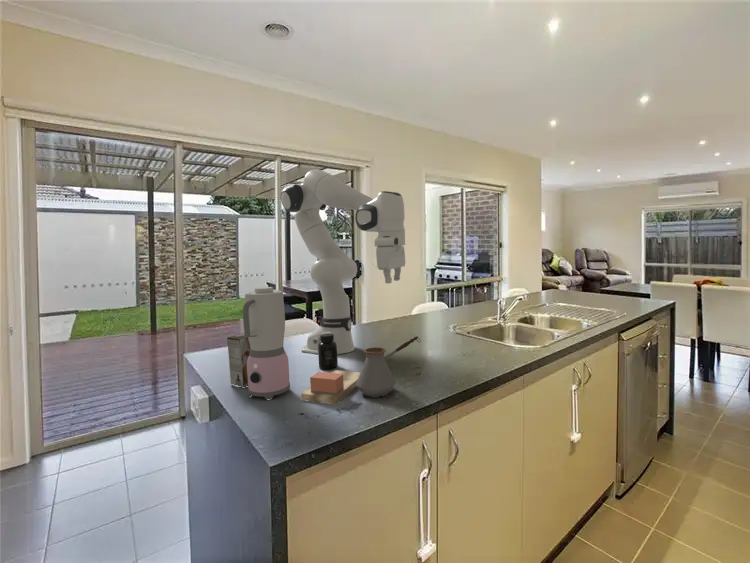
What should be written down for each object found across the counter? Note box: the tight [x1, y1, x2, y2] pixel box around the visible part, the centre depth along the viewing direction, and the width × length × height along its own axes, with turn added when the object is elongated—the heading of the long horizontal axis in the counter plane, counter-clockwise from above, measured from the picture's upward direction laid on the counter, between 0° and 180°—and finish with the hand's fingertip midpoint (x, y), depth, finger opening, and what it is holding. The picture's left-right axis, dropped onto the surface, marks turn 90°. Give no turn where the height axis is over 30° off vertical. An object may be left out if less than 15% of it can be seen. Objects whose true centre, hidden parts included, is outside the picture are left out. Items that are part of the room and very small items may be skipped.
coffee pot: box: [356, 336, 422, 398], centre depth 119 cm, size 21×12×15 cm, turn 117°
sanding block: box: [309, 371, 344, 395], centre depth 114 cm, size 8×5×4 cm, turn 70°
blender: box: [242, 286, 291, 400], centre depth 117 cm, size 16×12×32 cm
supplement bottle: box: [317, 334, 339, 371], centre depth 143 cm, size 7×7×12 cm
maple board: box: [300, 369, 361, 405], centre depth 122 cm, size 11×22×2 cm, turn 160°
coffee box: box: [227, 332, 251, 387], centre depth 128 cm, size 9×6×16 cm
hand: (392, 281), depth 133 cm, fingers open, 8 cm apart
